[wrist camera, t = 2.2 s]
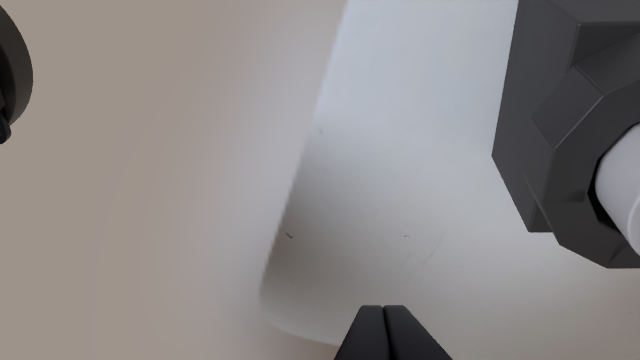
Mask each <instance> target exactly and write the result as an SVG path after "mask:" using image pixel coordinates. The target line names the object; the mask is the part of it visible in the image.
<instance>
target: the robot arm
mask: <svg viewBox="0 0 640 360" xmlns="http://www.w3.org/2000/svg"><path fill="white" fill-rule="evenodd" d="M4 105H5V102H4V99H3V96H2V92H1V89H0V134H1V135H0V144H3V143H4V142H6V141H7V140H8V139H9V138H10V136H11V129H10V126H9V122H8V119H7V116H6V112H5V109H4ZM334 360H453V359H452V358H451V357H450V356H449V355H448V354H447V353H446V352H445V350H444V349H443V348H442V347H441V346H440V345H439V344H438V343H437V342H436V340H435V339H434V338H433V337H432V336H431V335H430V334H429V333H428V331H427V330H426V329H425V328H424V327H423V326H422V325H421V324H420V323H419V321H418V320H417V319H416V318H415V317H414V316H413V315H412V314H411V312H410V311H409V310H408V309H407V308H406V307H405V306H403V305H385V306H384V307H383V308H382V306H380V305H363V306H361V307H360V309H359V311H358V313H357V315H356V317H355V319H354V321H353V323H352V325H351V327H350V329H349V331H348V333H347V335H346V336H345V338H344V340H343V342H342V344H341V346H340V349H339V350H338V352H337V354H336V356H335V358H334Z"/></svg>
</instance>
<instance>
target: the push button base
mask: <svg viewBox="0 0 640 360" xmlns="http://www.w3.org/2000/svg"><path fill="white" fill-rule="evenodd" d="M638 122H640V0H519V3H518V8H517V14H516V20H515V25H514V31H513V37H512V42H511V48H510V54H509V60H508V65H507V71H506V77H505V82H504V88H503V94H502V100H501V105H500V111H499V117H498V122H497V128H496V134H495V140H494V145H493V151H492V158H493V160H494V162H495V164H496V166H497V168H498V170H499V173H500V175H501V177H502V179H503V181H504V183H505V185H506V187H507V189H508V191H509V193H510V195H511V197H512V199H513V201H514V203H515V205H516V207H517V210H518V212H519V214H520V216H521V218H522V220H523V222H524V224H525V226H526V228H527V230H528V232H553V234H554V236H555V238H556V239H557V241H558V243H559V245H561V246H563V247H565V248H567V249H569V250H571V251H573V252H575V253H577V254H579V255H581V256H583V257H585V258H587V259H589V260H591V261H593V262H595V263H597V264H599V265H601V266H603V267H605V268H640V255H638V254H637V253H636V252H635V250H634V249H633V248H632V247H631V245H630V244H629V242H628V241H627V240H626V238H625V237H624V235H623V234H622V233H621V231H620V230H619V228H618V227H617V226H616V224H615V223H614V221H613V220H612V219H611V217H610V216H609V214H608V213H607V212H606V210H605V209H604V208H603V206H602V205H601V203H600V201H599V199H598V197H597V194H596V189H595V176H596V172H597V168H598V166H599V163H600V161H601V159H602V157H603V155H604V154H605V152H606V151H607V149H608V148H609V147H610V146H611V145H612V144H613V143H614V142H615V141H616V140H617V139H618V138H619V137H620V136H621V135H622V134H623V133H624V132H625V131H626V130H628V129H629V128H630V127H632V126H633V125H635V124H637V123H638Z"/></svg>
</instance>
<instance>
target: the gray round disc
mask: <svg viewBox="0 0 640 360" xmlns="http://www.w3.org/2000/svg"><path fill="white" fill-rule="evenodd" d="M595 189H596V194H597V197H598V199H599V201H600V203H601V205H602V206H603V208H604V209H605V210H606V212H607V213H608V214H609V216H610V217H611V219H612V220H613V221H614V223H615V224H616V226H617V227H618V228H619V230H620V231H621V233H622V234H623V235H624V237H625V238H626V240H627V241H628V242H629V244H630V245H631V247H632V248H633V249H634V250H635V252H636V253H637V254H638V255H640V122H638V123H637V124H635V125H633V126H632V127H630V128H629V129H628V130H626V131H625V132H624V133H623V134H622V135H621V136H620V137H619V138H618V139H617V140H616V141H615V142H614V143H613V144H612V145H611V146H610V147H609V148H608V149H607V151H606V152H605V154H604V155H603V157H602V159H601V161H600V163H599V166H598V168H597V172H596V176H595Z"/></svg>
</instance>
